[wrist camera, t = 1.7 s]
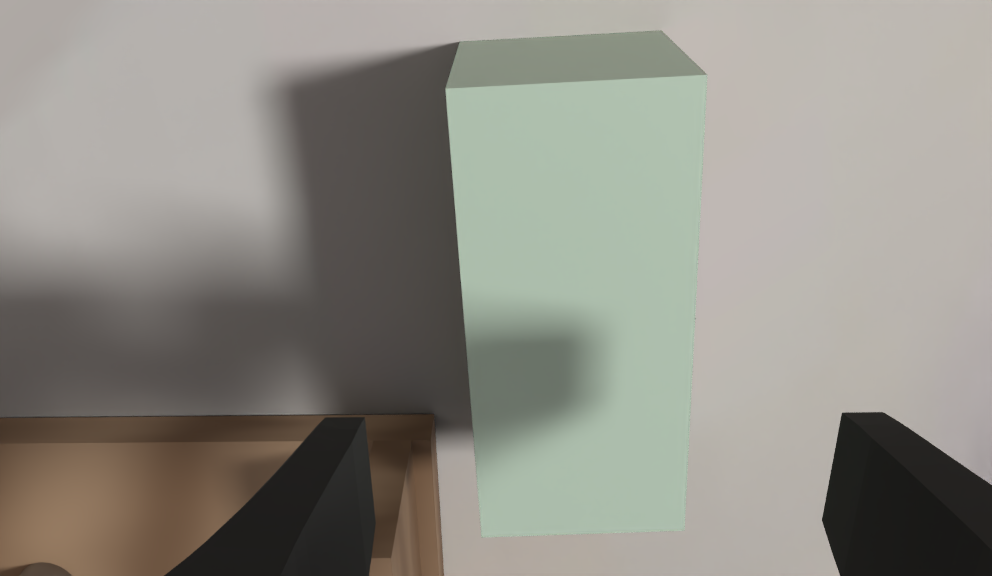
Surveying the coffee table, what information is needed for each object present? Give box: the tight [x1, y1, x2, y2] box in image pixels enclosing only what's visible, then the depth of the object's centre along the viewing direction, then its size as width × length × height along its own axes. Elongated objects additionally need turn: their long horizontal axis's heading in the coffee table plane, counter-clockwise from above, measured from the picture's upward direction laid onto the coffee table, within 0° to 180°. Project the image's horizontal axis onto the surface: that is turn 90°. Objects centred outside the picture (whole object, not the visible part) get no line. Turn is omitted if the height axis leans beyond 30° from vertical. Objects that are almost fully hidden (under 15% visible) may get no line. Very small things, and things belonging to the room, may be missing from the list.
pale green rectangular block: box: [445, 31, 707, 537], centre depth 19 cm, size 10×4×5 cm, turn 3°
